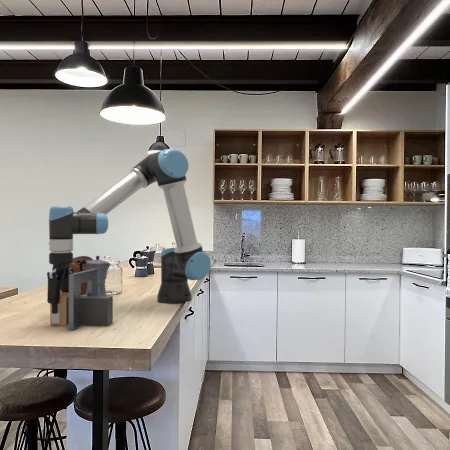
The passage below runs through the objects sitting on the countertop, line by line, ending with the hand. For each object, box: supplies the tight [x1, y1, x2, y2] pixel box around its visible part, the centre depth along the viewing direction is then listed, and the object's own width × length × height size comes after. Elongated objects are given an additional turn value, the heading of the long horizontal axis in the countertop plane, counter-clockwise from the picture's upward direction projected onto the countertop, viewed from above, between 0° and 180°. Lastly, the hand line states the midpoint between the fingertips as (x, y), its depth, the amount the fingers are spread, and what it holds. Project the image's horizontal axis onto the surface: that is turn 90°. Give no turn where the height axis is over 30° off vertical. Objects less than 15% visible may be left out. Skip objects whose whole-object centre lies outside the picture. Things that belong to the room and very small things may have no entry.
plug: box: [49, 292, 114, 327], centre depth 138 cm, size 20×6×10 cm, turn 84°
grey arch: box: [68, 269, 98, 332], centre depth 138 cm, size 2×18×18 cm, turn 173°
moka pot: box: [79, 255, 112, 296], centre depth 178 cm, size 10×15×20 cm, turn 78°
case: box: [61, 255, 94, 296], centre depth 201 cm, size 18×20×18 cm
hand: (61, 320), depth 139 cm, fingers closed on plug, 5 cm apart
